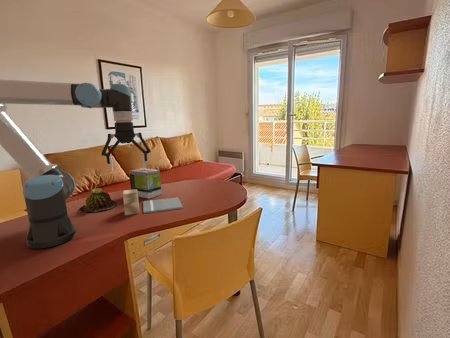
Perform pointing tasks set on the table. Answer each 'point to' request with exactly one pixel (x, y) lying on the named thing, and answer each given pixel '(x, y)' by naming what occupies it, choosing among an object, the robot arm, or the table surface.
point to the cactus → (98, 201)
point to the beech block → (131, 202)
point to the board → (161, 205)
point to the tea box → (146, 182)
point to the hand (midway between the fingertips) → (128, 169)
